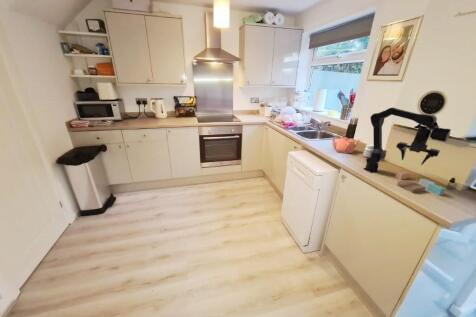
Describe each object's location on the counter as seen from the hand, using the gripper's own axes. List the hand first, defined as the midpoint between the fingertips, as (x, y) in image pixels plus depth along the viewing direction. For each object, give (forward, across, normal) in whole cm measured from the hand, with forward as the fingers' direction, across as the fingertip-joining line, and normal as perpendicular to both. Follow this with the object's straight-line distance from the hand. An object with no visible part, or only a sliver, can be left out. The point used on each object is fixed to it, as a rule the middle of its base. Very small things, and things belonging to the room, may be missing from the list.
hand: (411, 162), depth 120 cm
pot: (+15, -52, +31) cm, 62 cm away
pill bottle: (+14, -30, +27) cm, 43 cm away
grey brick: (+13, +10, +2) cm, 17 cm away
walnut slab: (+14, +4, -8) cm, 16 cm away
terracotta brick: (+13, -3, +6) cm, 15 cm away
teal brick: (+13, +15, -2) cm, 20 cm away
